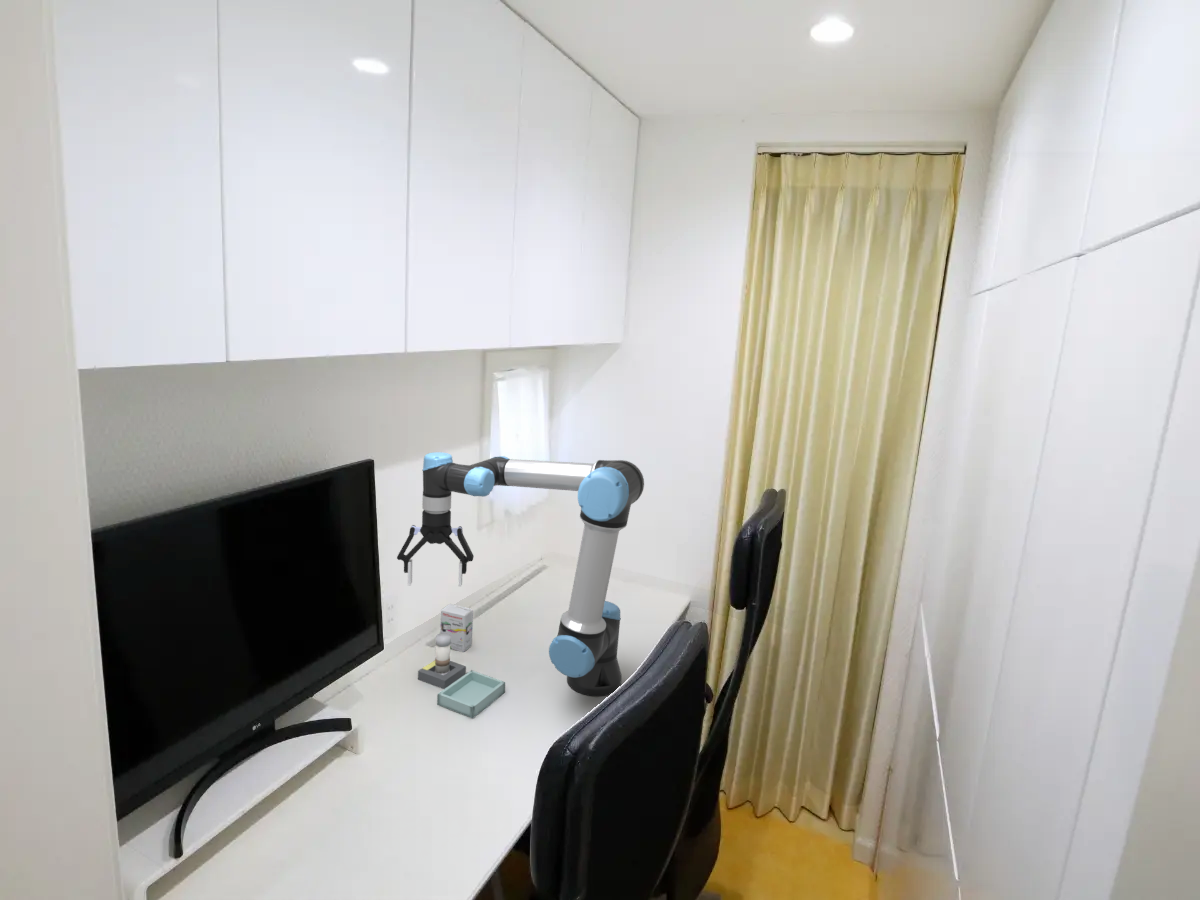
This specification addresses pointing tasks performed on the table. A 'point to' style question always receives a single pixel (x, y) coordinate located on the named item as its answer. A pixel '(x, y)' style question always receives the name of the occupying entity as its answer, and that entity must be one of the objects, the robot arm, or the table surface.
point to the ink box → (457, 626)
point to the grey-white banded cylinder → (442, 653)
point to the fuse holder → (440, 680)
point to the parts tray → (471, 693)
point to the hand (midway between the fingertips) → (435, 584)
